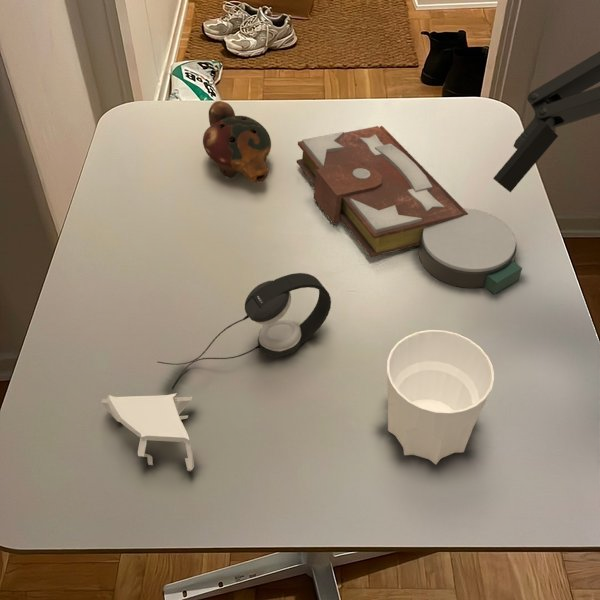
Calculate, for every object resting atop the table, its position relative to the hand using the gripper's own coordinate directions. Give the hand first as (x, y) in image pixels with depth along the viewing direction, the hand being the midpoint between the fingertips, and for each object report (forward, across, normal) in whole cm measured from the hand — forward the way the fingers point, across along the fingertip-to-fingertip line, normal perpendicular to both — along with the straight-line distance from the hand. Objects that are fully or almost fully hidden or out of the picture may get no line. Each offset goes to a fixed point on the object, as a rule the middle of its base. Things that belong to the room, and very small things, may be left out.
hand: (553, 226), depth 64 cm
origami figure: (+42, +14, +9) cm, 45 cm away
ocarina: (+21, +51, -12) cm, 57 cm away
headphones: (+32, +18, 0) cm, 37 cm away
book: (+12, +34, -21) cm, 42 cm away
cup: (+24, 0, -8) cm, 25 cm away
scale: (+9, +19, -23) cm, 31 cm away
